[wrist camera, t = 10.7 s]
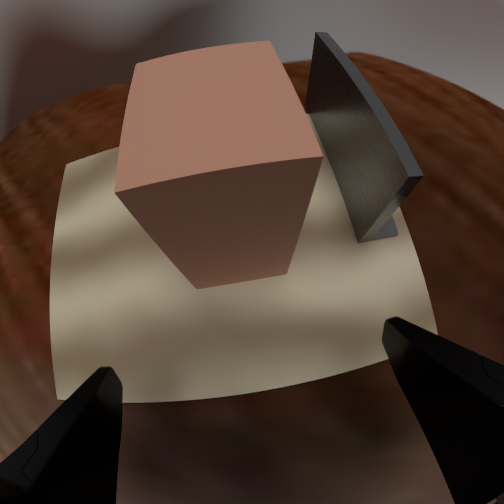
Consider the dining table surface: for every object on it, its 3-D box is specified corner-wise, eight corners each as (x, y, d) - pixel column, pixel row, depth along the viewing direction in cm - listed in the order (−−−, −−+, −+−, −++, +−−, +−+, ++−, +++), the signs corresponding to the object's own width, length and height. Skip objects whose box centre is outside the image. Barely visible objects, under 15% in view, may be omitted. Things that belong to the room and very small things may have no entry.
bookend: (396, 236, 16) (455, 174, 10) (357, 243, 16) (408, 176, 10) (337, 104, 20) (354, 34, 14) (304, 105, 20) (315, 31, 14)
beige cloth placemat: (430, 340, 15) (438, 339, 14) (66, 398, 14) (57, 399, 13) (350, 120, 21) (353, 112, 20) (71, 170, 20) (66, 164, 19)
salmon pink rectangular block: (286, 274, 16) (323, 156, 6) (196, 289, 16) (114, 192, 6) (265, 183, 18) (269, 40, 8) (187, 196, 18) (136, 64, 8)
